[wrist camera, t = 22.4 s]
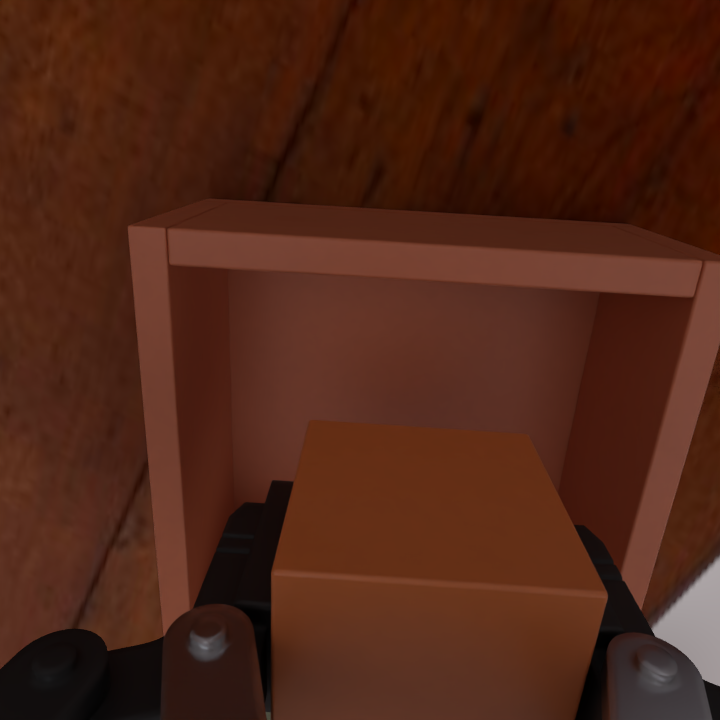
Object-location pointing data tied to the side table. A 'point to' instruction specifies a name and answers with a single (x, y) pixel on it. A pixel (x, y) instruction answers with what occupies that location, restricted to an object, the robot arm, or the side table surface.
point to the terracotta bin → (415, 356)
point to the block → (428, 581)
